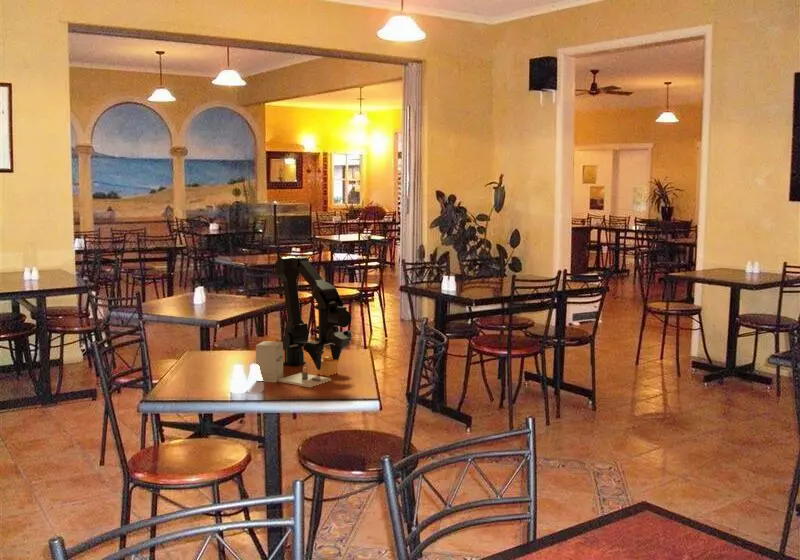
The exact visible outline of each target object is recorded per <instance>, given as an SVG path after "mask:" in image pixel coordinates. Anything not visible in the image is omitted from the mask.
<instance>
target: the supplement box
mask: <svg viewBox="0 0 800 560" xmlns="http://www.w3.org/2000/svg"><path fill="white" fill-rule="evenodd" d="M283 362H284V349H283V342H280V341H269V340H267V341H265V340H263V341H261V342H259V343H258V344H256V345H255V365H256V364H258V365H259V366H260V370H261V374H262V377H263V380H264V382H263V383H277V382H278V379H281V378H284V364H283Z"/></svg>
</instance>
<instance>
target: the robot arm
mask: <svg viewBox="0 0 800 560" xmlns="http://www.w3.org/2000/svg"><path fill="white" fill-rule="evenodd" d="M274 266H275V270H276V273H277V276H278V278H279V279H280V280H281V282H282V287H283V294H284V300H285V301H284V302H285V303H284V304H285V311H286V316H287V317H286V319H287V322H286V325H285V326H284V330H283V331H284V335H283V336H282V338H281V339H280V341H279V342H283V350H284V361H283V365H285V366H286V365H287V366H291V367H296V366H300V365H304V364H306V363H307V362H306V361H305V358H304V355H305V354H304V351H305V352H306V353H308V355H309V356H310V358H311V359H312V362H313V363H314V365H315V368H316V369H317V370H320V368H321V360H322V355H323V354H324V353H325V351H324V349H325V347H327V346H329V348H330V353H331V357H332V359H335V360H337V364H338V362H339V359H340V356H341V354H342V351H343V350H344V349H345V348H346V347H347V346H348V344H351V343H350V341H352V332H351V331H350V330H345V331H339V327H341V328H347V327H348V326H349V325H350V324H351V322H352V315H351V313H350V312H349V311H348V310H347V309H348V308H347V306H344V303H343V301H342V298H341V297H340V294H339V292H338V289H337V288H336V287H335V286H334V285H332V283H329V282H327V281H325V280H324V279H323V278H322V277H321V275H320V274H319V273H318V271H317V270H316V269H315V267H314V266H313V265H312V264H311V262H310V260H309V258H308V257H307V256H305V255H304V256H288V257H287V256H285V257H278V258H277V260H276V261H275V265H274ZM299 275H301V276H302V277H303V279H304V280H305V281H306V283H307V284H308V285H309V286H310V288H311V290H312V296H313V298H314V300H315V301H316V304H317V305H316V306H314V310H317V311H318V325H316V327H315V329H316V330H318V337H316V338H315V340H310V341H309V336H310V331H309V325H308V323H306V322H304V321H303V319H302V316H301V315H302V314H301V308H300V298H299V291H298V283H297V279H298V278H299ZM317 370H316V371H317Z"/></svg>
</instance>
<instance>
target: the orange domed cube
mask: <svg viewBox="0 0 800 560" xmlns="http://www.w3.org/2000/svg"><path fill="white" fill-rule="evenodd" d="M316 371H317V372H316V373H317V374H321V375H320V376H323V375H326V376H325V377H331V376H330V375H332V376H334V375H333V374H335V375H336V373H338V372H339V371H338V363H337V360H335V359H333V358H332V356H329V355H326V356H323V357H322V358H321V368H320V370H316ZM317 374H316V375H317Z"/></svg>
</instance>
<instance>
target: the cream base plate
mask: <svg viewBox="0 0 800 560" xmlns="http://www.w3.org/2000/svg"><path fill="white" fill-rule="evenodd" d="M328 381H329V382H331V381H332V378H331V377H327V376H322V375H315V374H309V372H308V367H306V366H305V367H302V372H298V373H294V374H291V375H288V376H285V377H284V376H283V378H281V379H278V381H277V382H279V383H284V384H289V385H294V386H300V387H306V388H313V386H314V387H317V386H319V384H320V385H322V383H323V384H325V382H326V383H329V382H328ZM316 385H317V386H316Z"/></svg>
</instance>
